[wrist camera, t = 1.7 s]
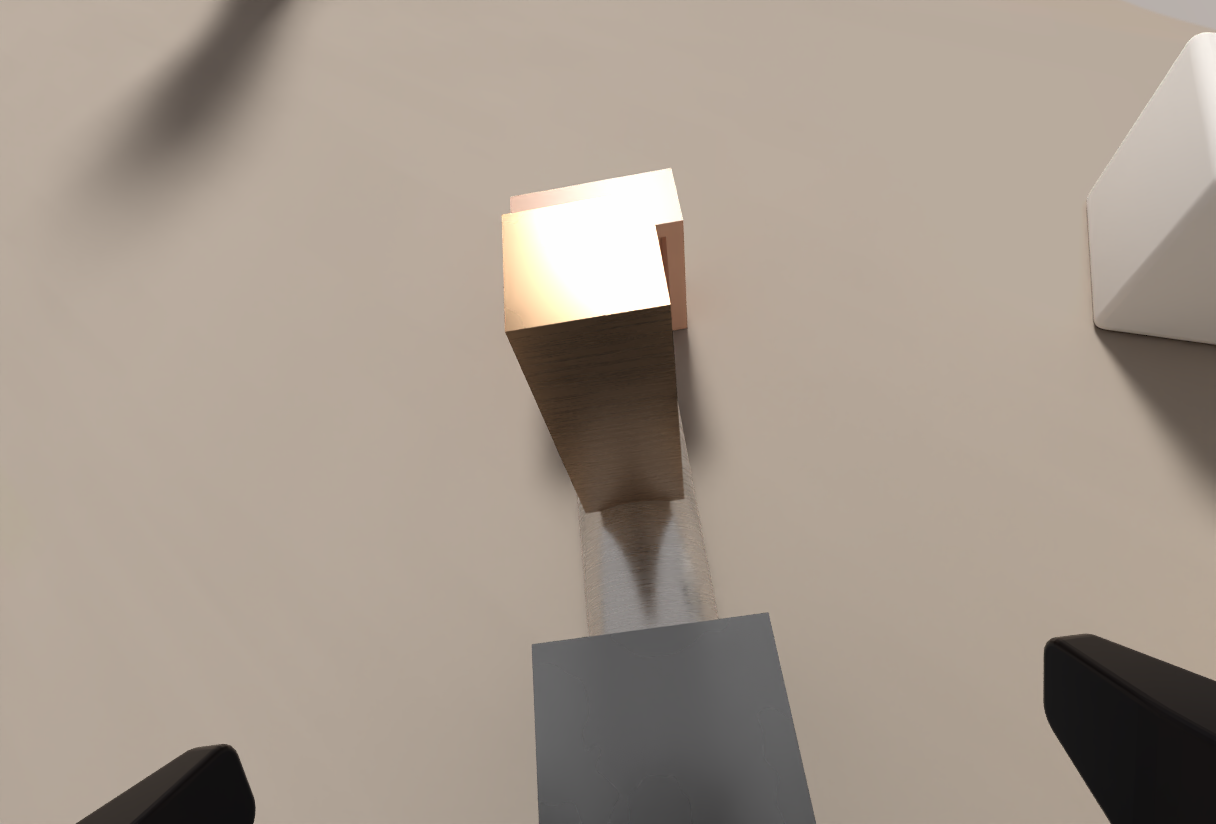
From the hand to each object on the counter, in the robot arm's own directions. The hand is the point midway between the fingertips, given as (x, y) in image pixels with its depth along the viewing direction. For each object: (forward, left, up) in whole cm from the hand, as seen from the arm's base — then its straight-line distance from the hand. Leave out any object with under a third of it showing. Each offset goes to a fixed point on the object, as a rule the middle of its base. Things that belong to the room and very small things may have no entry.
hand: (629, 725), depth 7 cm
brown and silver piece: (+2, +2, -12) cm, 13 cm away
